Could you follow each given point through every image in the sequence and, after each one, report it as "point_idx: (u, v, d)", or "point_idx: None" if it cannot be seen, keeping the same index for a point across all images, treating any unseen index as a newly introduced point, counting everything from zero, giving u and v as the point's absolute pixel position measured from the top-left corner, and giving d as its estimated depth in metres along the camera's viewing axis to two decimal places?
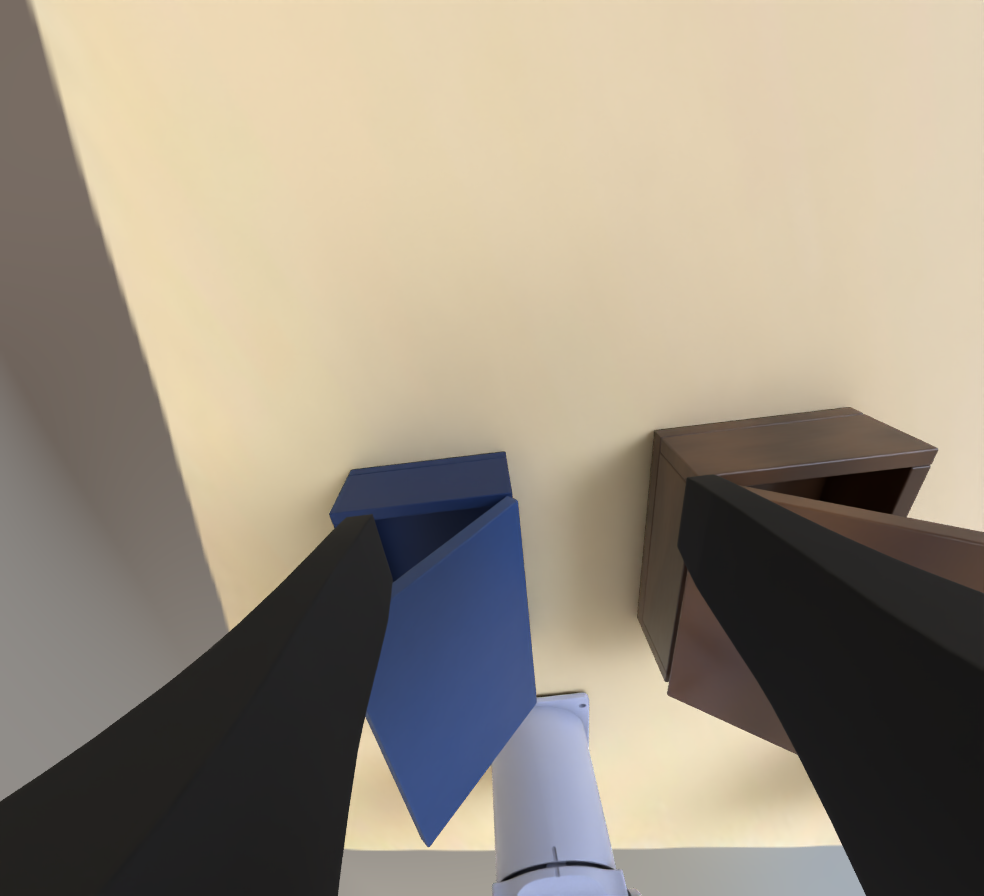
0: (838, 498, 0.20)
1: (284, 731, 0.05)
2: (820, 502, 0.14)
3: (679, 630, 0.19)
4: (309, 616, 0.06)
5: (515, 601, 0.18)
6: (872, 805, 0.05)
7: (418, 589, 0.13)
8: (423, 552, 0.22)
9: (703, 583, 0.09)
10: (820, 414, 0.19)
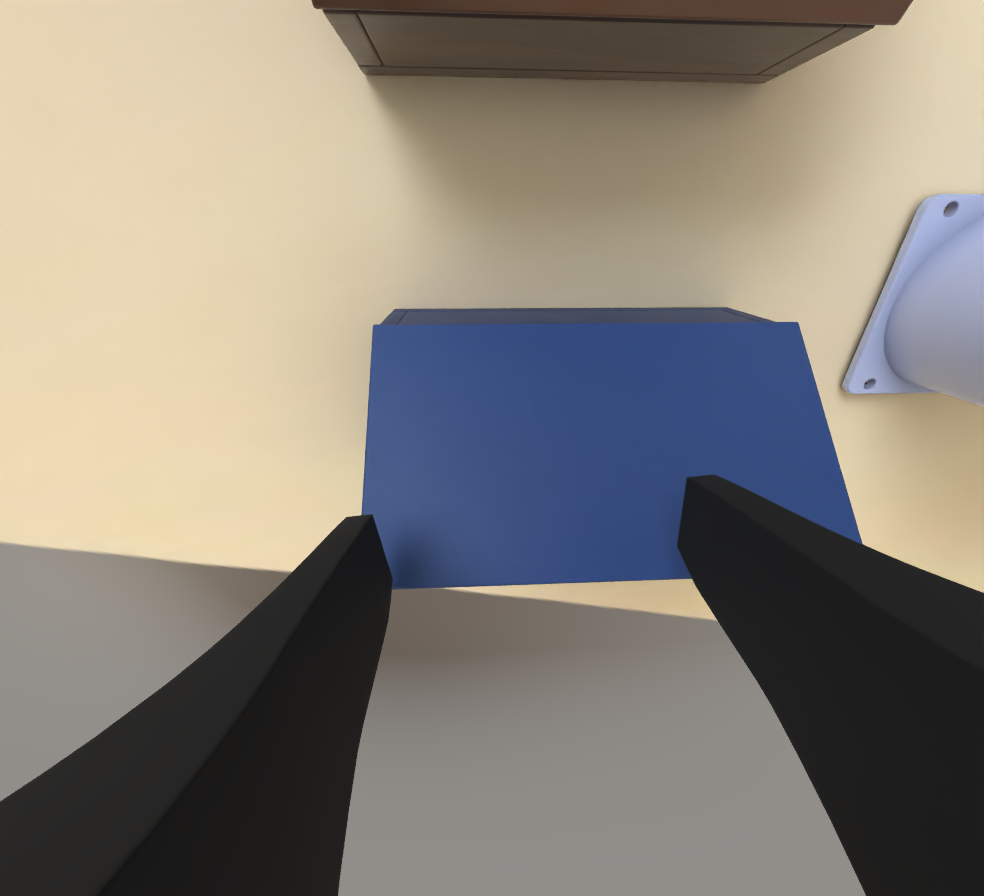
0: None
1: (284, 731, 0.05)
2: None
3: (677, 15, 0.09)
4: (309, 616, 0.06)
5: (532, 345, 0.13)
6: (872, 805, 0.05)
7: (376, 484, 0.11)
8: None
9: (703, 583, 0.09)
10: None
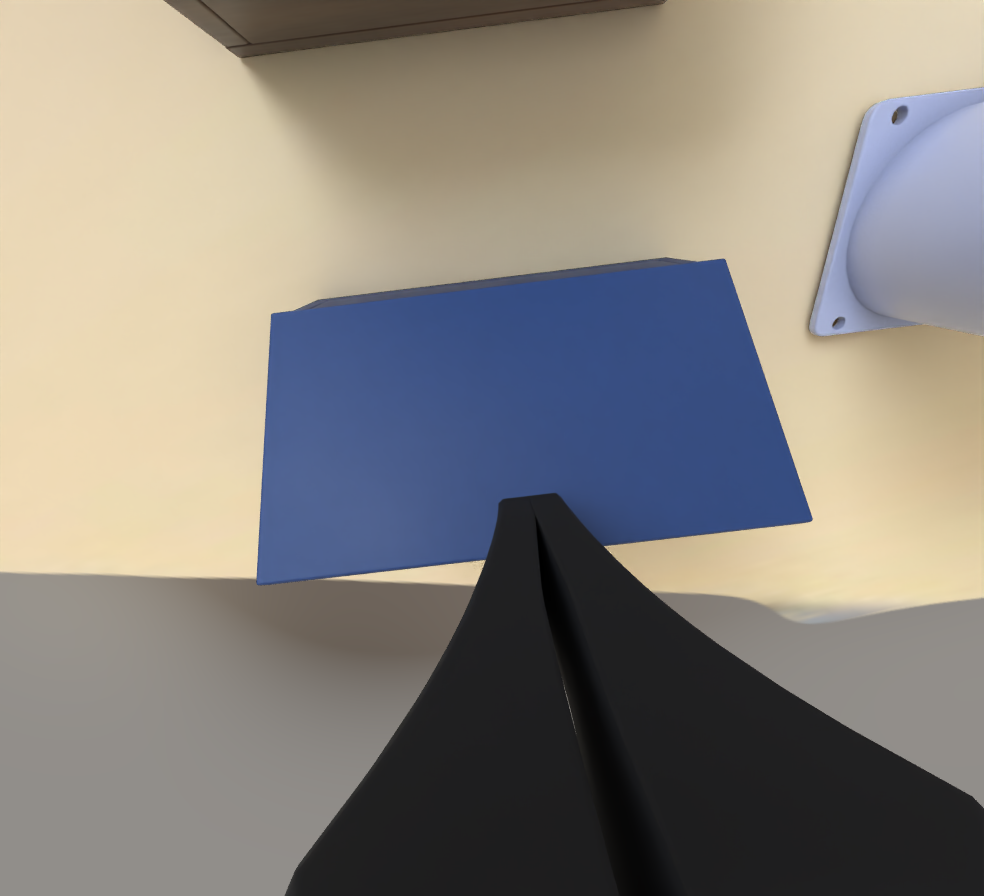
0: None
1: None
2: None
3: None
4: None
5: (434, 316, 0.12)
6: (604, 834, 0.05)
7: (275, 475, 0.11)
8: None
9: None
10: None
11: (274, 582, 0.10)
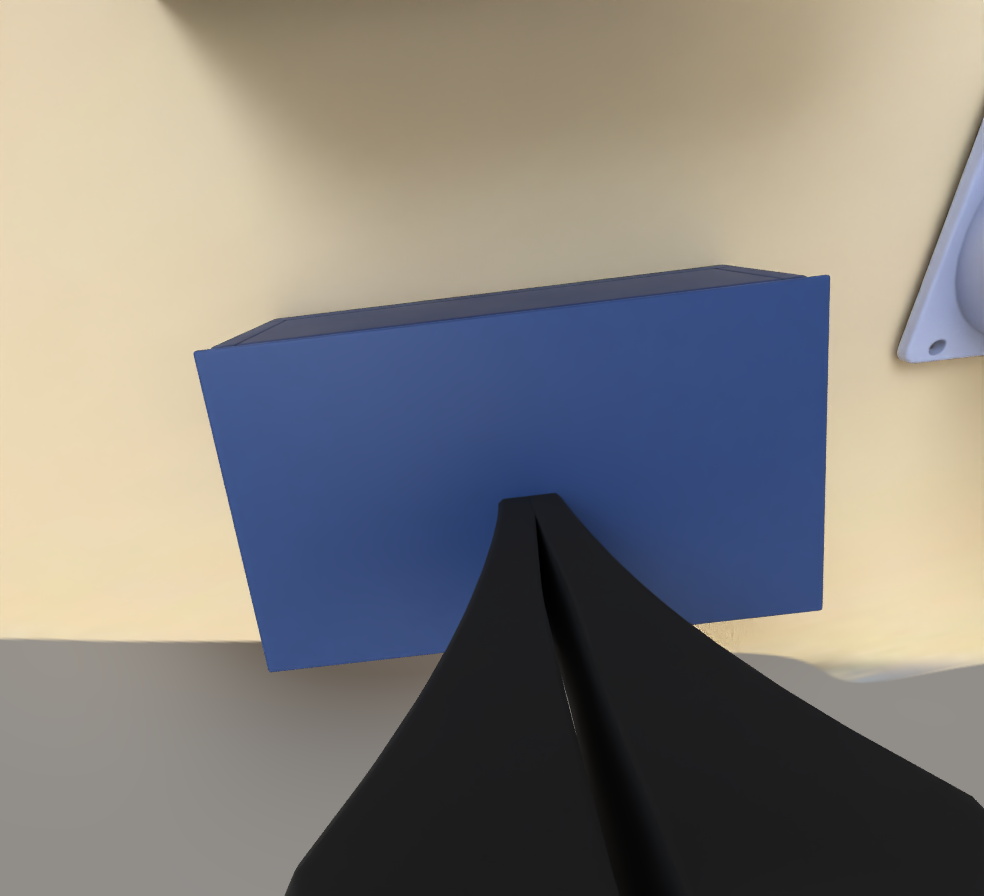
0: None
1: None
2: None
3: None
4: None
5: (425, 361, 0.09)
6: (604, 834, 0.05)
7: (259, 569, 0.10)
8: None
9: None
10: None
11: (286, 669, 0.10)
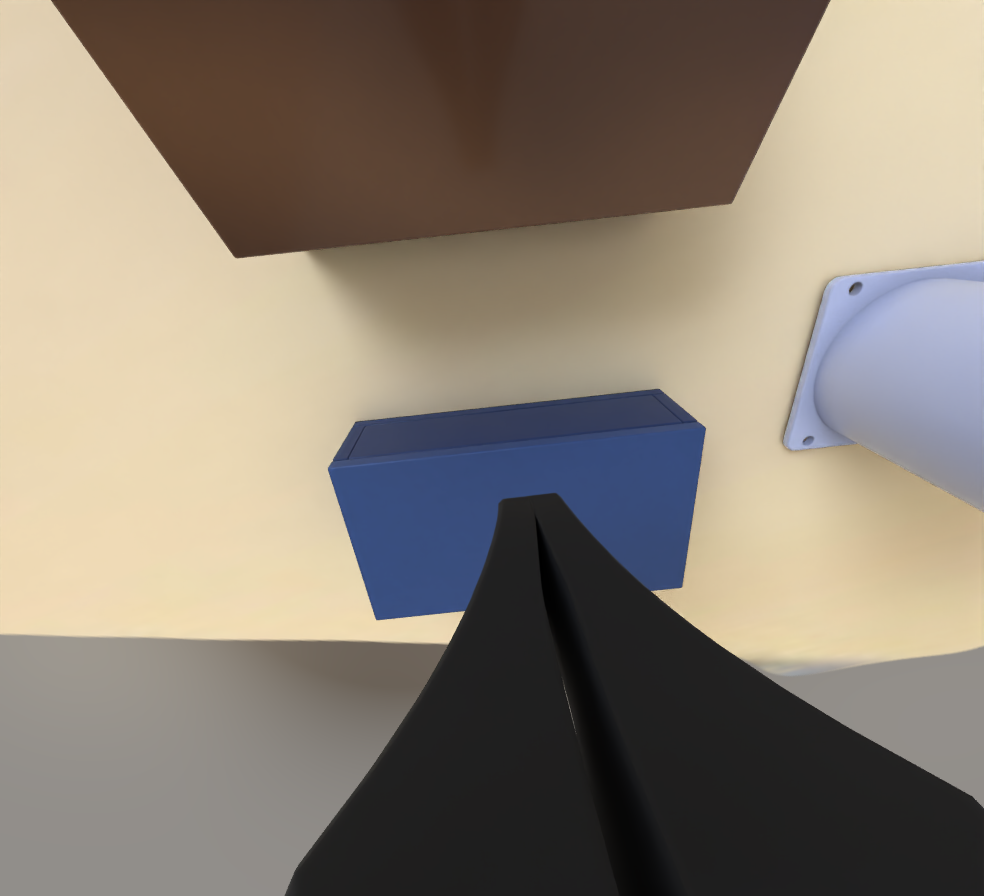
0: None
1: None
2: (125, 83, 0.08)
3: (535, 224, 0.11)
4: None
5: (465, 473, 0.15)
6: (604, 834, 0.05)
7: (370, 573, 0.17)
8: None
9: None
10: None
11: (386, 618, 0.19)
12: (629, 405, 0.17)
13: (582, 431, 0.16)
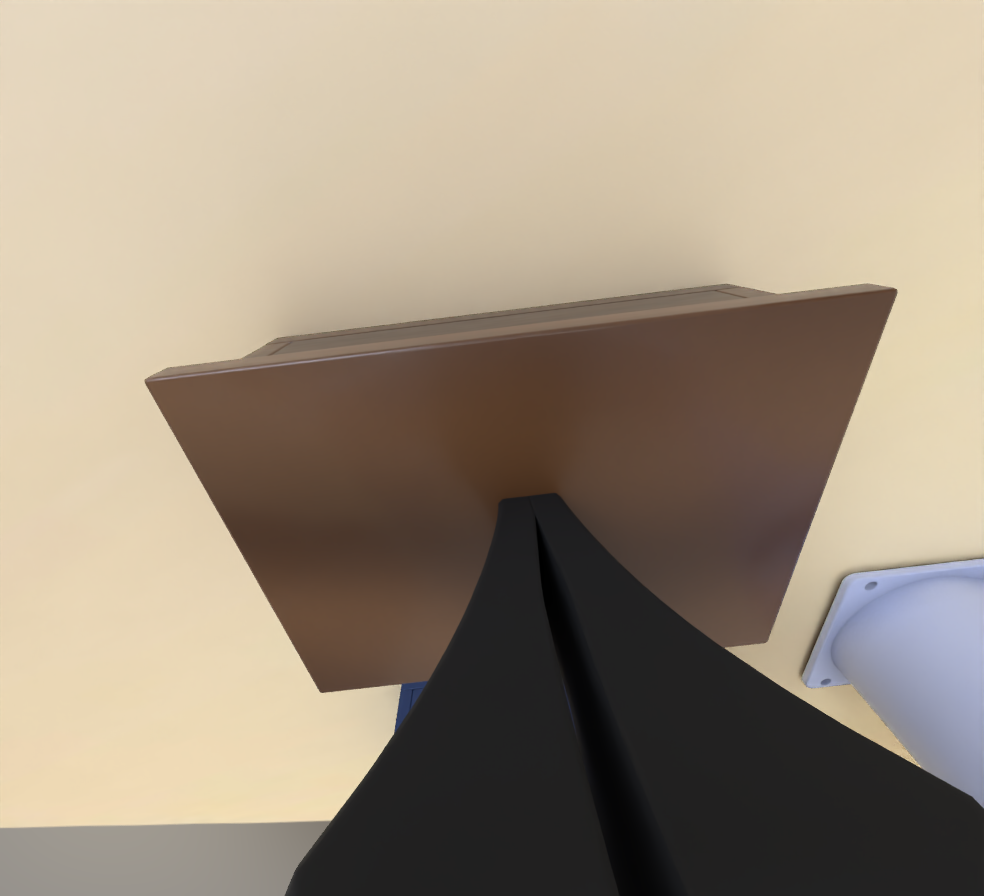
0: None
1: None
2: None
3: None
4: None
5: None
6: (604, 835, 0.05)
7: None
8: None
9: None
10: None
11: None
12: None
13: None
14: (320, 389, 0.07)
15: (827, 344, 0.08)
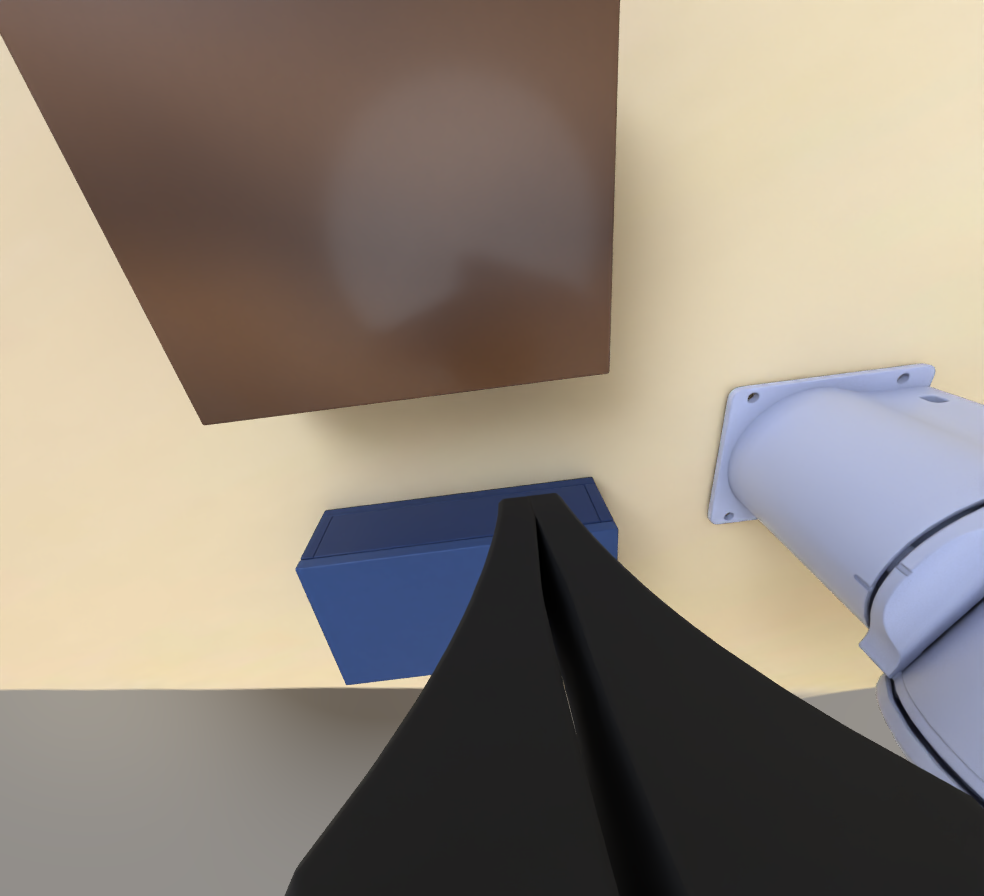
0: None
1: None
2: None
3: (447, 392, 0.13)
4: None
5: (414, 569, 0.18)
6: (604, 834, 0.05)
7: (338, 648, 0.20)
8: None
9: None
10: None
11: (355, 683, 0.21)
12: None
13: None
14: (138, 15, 0.09)
15: None
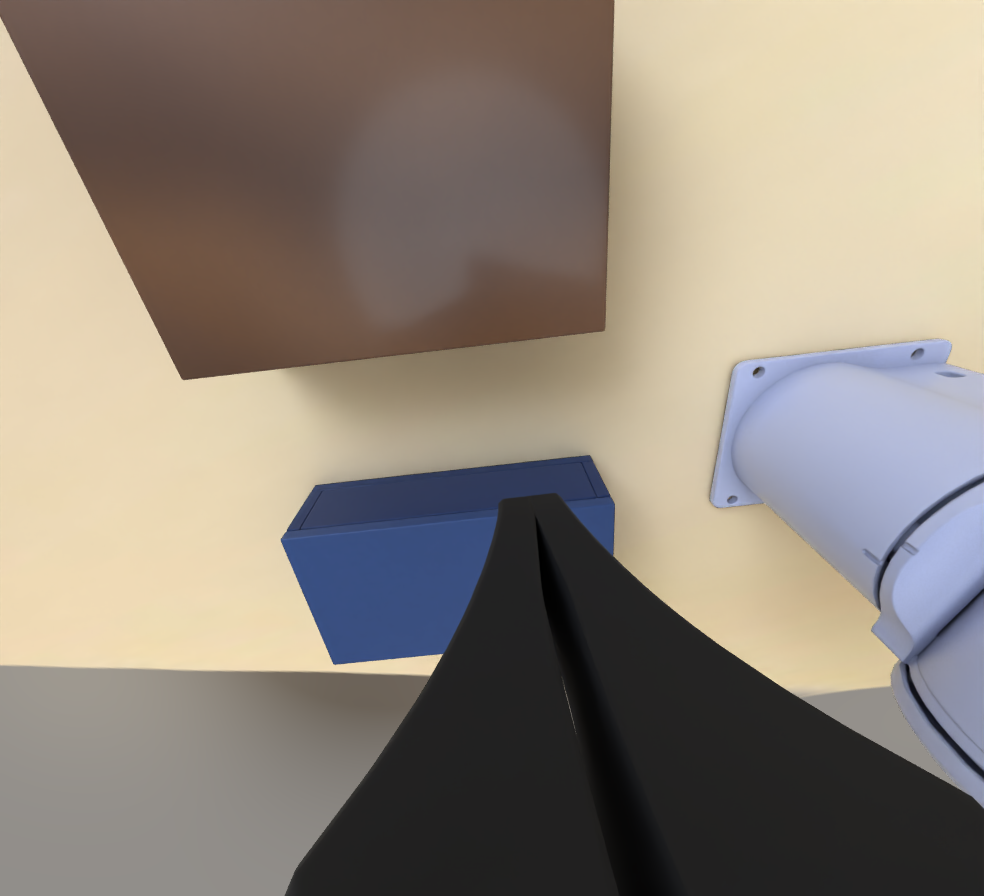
0: None
1: None
2: None
3: (435, 348, 0.13)
4: None
5: (402, 542, 0.17)
6: (604, 835, 0.05)
7: (324, 625, 0.19)
8: None
9: None
10: None
11: (342, 663, 0.21)
12: (557, 474, 0.19)
13: None
14: None
15: None
